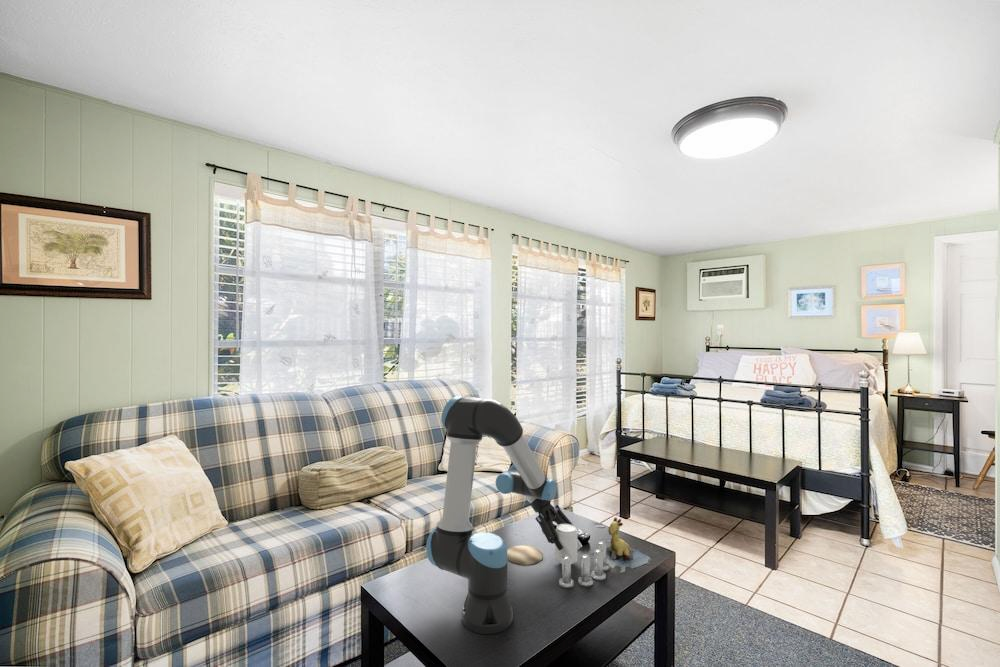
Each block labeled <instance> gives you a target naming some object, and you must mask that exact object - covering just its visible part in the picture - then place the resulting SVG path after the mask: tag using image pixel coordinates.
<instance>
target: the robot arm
mask: <svg viewBox="0 0 1000 667" xmlns="http://www.w3.org/2000/svg"><path fill="white" fill-rule="evenodd" d="M440 419H441V424H442V427H443V428H444V429H445V430H446V432H447V433H446V438H447V439H448V440H449V442H450V445H449V456H448V464H447V473H446V481H445V491H444V499H443V507H442V516H441V519H440V520H438V522H436V526H435V527H434V528H433V529H432V530H431V531H430V533H429V534H430V535H429V536H428V537H427V539H426V548H425V550H426V556H427V559H428V561H429V563H431V565H433V566H434V567H437V568H438V569H440V570H441V571H446V572H448V573H451V574H454V575H457V576H460V577H461V578H465V579H467V581H468V582H467V583H468V584H467V585H468V586H467V587H468V588H467V594H466V597H465V600H464V604H463V607H462V612H461V621H462V624H463V625H464V627H465V628H466V629H468V630H469V631H471V632H473V633H475V634H481V635H494V634H497V633H501V632H503V631H505V630H507V629H508V628H509V627H510V626H511V624H512V623H513V618H514V617H513V615H514V614H513V613H514V612H513V610H514V609H513V607H512V604H511V602H510V597H509V593H508V561H509V560H508V555H507V550H508V547H507V543H506V541H505V540H504V539H503V538H502V537H500V536H499V535H497V534H495V533H493V532H484V531H480V532H479V531H478V532H475V533H473V528H474V527H473V525H472V523H471V522H470V514H471V503H472V495H473V487H474V486H473V485H474V484H473V483H474V476H475V474H474V473H475V464H476V456H477V447H478V444H479V443H480V442H481V441H482V440H483V436H486V437H488V438H491V439H493V440H494V441H495V443H496V444H498V446H500V447H502V448H503V449H504V452H505V453H506V455H507V456H508V458H509V459H510V461H511V463H512V465H511V466H510V467H508V471H504V472H502V473H501V472H500V474H498V475H497V476H496V478H495V487H496V490H497V491H498V492H499V493H500V494H502V495H505V494H507V495H508V494H511V493H513V494H517V495H521V496H525V498H526V500H527V502H529V504H530V506H531V508H532V509H533V511H534V513H538V515H537V516H536V517H535V518H534V519H535V520H536V522H537V523H538V524H539V526H540V528H541V530H542V532H543V534H544V536H545V538H546V541H547V542H548V543H549V544H552V545H553V544H554V546H555V545H556V546H557V548H558V549H559V550H560V552H561V553H562V555H563V556H570V555H571V553H570V552H569V550H568V549H567V547H566V546H565V544H564V543H563V542H562V540H561V539H558V536H557V533H556V528H555V525H554V523H556V524H557V526H558V525H559V524H571V525H573V526H574V524H573V522H571V520H570V519H569V518H568V517H567V515H566V514H565V513H564V512H563V511H562V509H561V508H560V506H559V505H558V504H556V505H555V506H553V505H552V504H551V502H552V501H553V500H554V499H555V497H556V494H557V491H558V485H557V481H555V479H553V478H550V477H548V478H547V477H546V475H545V473H544V471H543V470H542V468H541V466H540V464H539V462H538V460H537V458H536V457H535V455H534V453H533V451H532V449H531V448H530V446H529V444H528V442H527V441H526V439H525V437H524V435H523V433H524V429H523V426H522V424H521V423H520V422H519V419H518V418H517V417H516V416H515V414H514V413H513V412H512V411H511V410H510V409H509V408H508V407H507V406H505V405H504V404H503V403H501V402H500V401H498V400H495V399H492V398H484V397H483V398H482V397H481V398H480V397H473V396H467V395H465V396H462V395H461V396H459V395H458V396H454V397H452V398H450V399H449V400H448V401H447V402H446V403H445V405H444V407H443V409H442V413H441V418H440ZM582 547H583V545H582V543H581V541H580V540H579V539H578V538H577V551H579V549H580V548H582Z"/></svg>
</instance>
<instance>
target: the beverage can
mask: <svg viewBox="0 0 1000 667" xmlns="http://www.w3.org/2000/svg"><path fill="white" fill-rule="evenodd" d="M555 530H556V533H557V536H558V539H561V540H562V542H563V543H564V544H565V546H566V547H567V549H568V550H569V552H570V553H571V555H570V557H571V565H572V564H575V563H576V562H577V561H578V550H577V539H578V530H577V527H576V526H575V525H574V524H573V525H571V524H559V525H558V524H557V525H556V528H555ZM562 556H563V555H562V553H561V552H560V550H559V549H558V548H557V546H556V545H555V544H554V559H555V561H556V562H558V563H559V564H562Z"/></svg>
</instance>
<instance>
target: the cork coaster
mask: <svg viewBox="0 0 1000 667" xmlns="http://www.w3.org/2000/svg"><path fill="white" fill-rule="evenodd" d="M507 555H508V561H509V562H511V563H513V564H516V565H520V566H529V565H530V566H531V565H534V564H537V563H539V562H541V561H542V559H543V552H542V551H541V550H540V549H539V548H537V547H536V546H535V547H534V546H531V545H515V546H512V547H510V548H507Z"/></svg>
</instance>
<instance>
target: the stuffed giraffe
mask: <svg viewBox="0 0 1000 667" xmlns="http://www.w3.org/2000/svg"><path fill="white" fill-rule="evenodd" d="M612 521H613V522H611V523H610V525H609V526H608V534H609V535H610V536H611V539H610V546H606V563H608V564H609V567H610V568H612V569H614V568H615V567H616V566H617V567H619V568H620V571H619V573H620V574H622V573H625V572H626V567H627V568H628V567H629V568H631V569H635V568H638V567H639V568H640V567H641V566H643V565H645V564H650V560H651V557H650V556H648V555H647V554H646V553H642V552H640V551H639V550H637V549H635V548H633V547H630V545H629V544H628V543H627V542H626V541H625V540H623V539H621V538H619V536H620V528H621V527H622V526H623V525H624V523H623V522H622V518H619V519H618V517H614V518H613V520H612ZM630 552H633V553H631V554H632V557H633V558H632V559H629V557H630ZM589 556H593V557H594V552H591V553H590V555H589ZM610 558H612V559H613V560H610ZM624 559H625V560H624ZM628 559H629V560H628Z"/></svg>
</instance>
